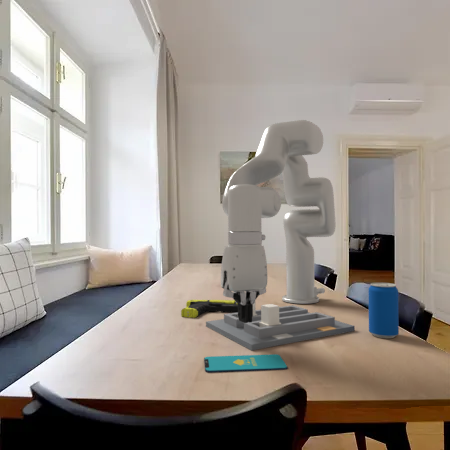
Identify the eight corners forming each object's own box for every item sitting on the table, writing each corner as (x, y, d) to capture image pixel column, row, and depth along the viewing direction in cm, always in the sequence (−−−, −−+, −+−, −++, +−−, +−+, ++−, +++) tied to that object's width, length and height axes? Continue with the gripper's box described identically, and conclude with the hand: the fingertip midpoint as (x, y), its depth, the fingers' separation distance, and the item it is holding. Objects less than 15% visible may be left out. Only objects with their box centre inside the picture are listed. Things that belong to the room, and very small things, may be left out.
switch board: (297, 312, 111) (296, 302, 111) (354, 330, 92) (354, 317, 92) (205, 326, 97) (205, 313, 97) (251, 350, 78) (251, 335, 78)
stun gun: (244, 310, 105) (247, 300, 120) (177, 308, 107) (188, 298, 122) (244, 321, 105) (247, 309, 120) (177, 319, 107) (188, 307, 122)
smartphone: (288, 367, 67) (205, 370, 66) (288, 371, 67) (205, 374, 66) (279, 353, 75) (203, 356, 73) (279, 357, 75) (203, 360, 73)
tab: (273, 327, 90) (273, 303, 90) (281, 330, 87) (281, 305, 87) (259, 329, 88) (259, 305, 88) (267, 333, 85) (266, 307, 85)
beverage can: (398, 333, 90) (398, 283, 90) (398, 340, 84) (398, 287, 84) (369, 330, 92) (369, 281, 92) (367, 337, 87) (367, 285, 87)
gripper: (263, 238, 91) (263, 314, 91) (207, 240, 84) (208, 321, 84) (281, 239, 84) (282, 321, 84) (223, 241, 77) (223, 329, 77)
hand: (245, 321), depth 84 cm, fingers closed
